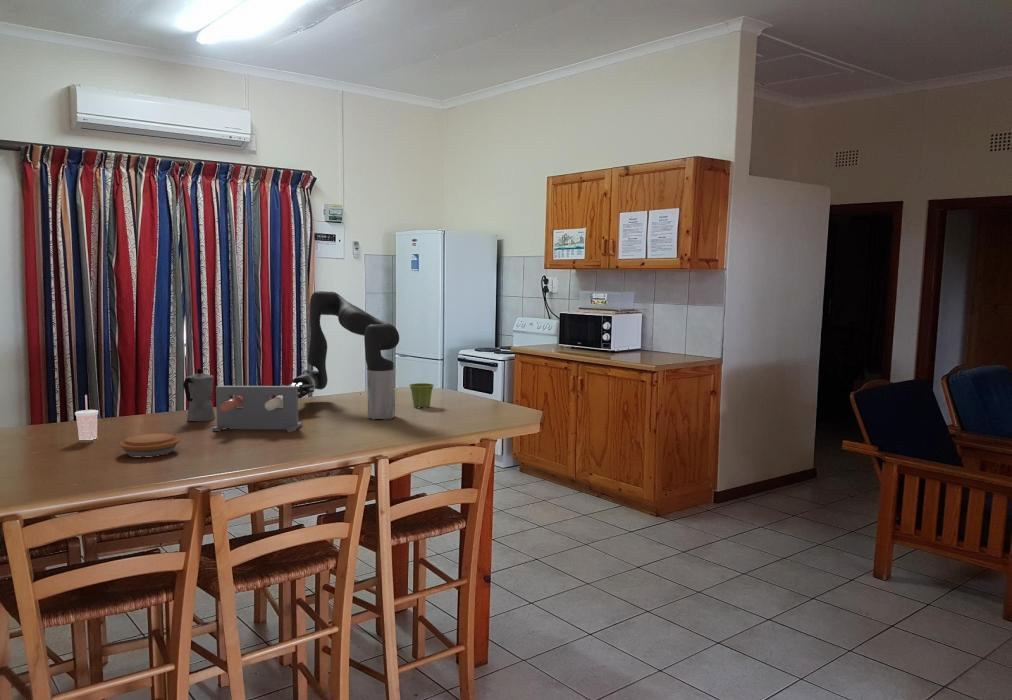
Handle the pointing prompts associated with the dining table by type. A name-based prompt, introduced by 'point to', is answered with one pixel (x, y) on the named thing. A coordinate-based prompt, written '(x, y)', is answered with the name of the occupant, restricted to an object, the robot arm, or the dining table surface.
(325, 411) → the dining table surface
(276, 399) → the beige lever
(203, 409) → the coffeepot
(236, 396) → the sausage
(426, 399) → the plant pot
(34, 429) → the dining table surface
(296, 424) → the panel
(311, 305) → the robot arm
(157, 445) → the pie
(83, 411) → the beverage cup
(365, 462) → the dining table surface
